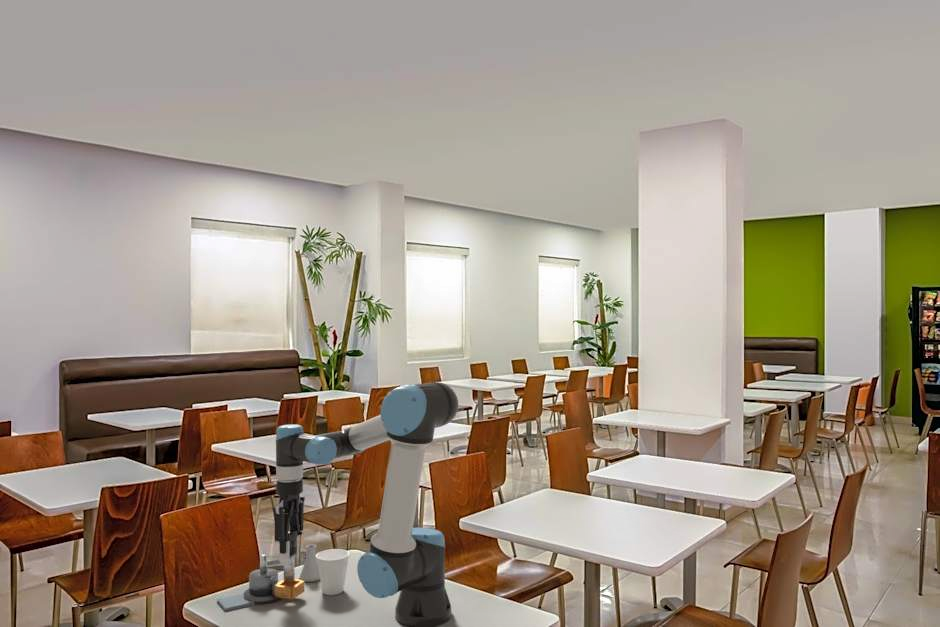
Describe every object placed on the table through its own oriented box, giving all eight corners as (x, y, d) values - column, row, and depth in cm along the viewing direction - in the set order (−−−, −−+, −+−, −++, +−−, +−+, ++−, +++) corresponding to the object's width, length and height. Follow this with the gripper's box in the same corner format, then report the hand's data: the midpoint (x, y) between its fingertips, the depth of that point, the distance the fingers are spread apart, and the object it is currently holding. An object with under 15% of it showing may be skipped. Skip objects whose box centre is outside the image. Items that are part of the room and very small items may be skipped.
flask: (294, 581, 216) (294, 548, 216) (307, 573, 223) (307, 541, 223) (315, 583, 214) (315, 550, 214) (327, 575, 221) (327, 543, 221)
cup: (353, 586, 212) (353, 549, 212) (344, 598, 202) (344, 560, 202) (321, 584, 213) (321, 548, 213) (311, 597, 203) (311, 559, 203)
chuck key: (296, 577, 204) (297, 528, 204) (296, 582, 200) (297, 533, 200) (281, 578, 203) (281, 530, 203) (280, 584, 199) (281, 534, 199)
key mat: (254, 604, 198) (254, 601, 198) (225, 611, 194) (225, 608, 194) (245, 595, 205) (245, 592, 205) (217, 601, 200) (217, 599, 200)
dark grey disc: (288, 598, 203) (288, 593, 203) (250, 607, 196) (250, 602, 196) (275, 586, 212) (275, 581, 212) (238, 595, 205) (238, 589, 205)
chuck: (243, 594, 201) (243, 558, 201) (259, 584, 209) (259, 549, 209) (292, 600, 197) (292, 563, 197) (306, 589, 205) (306, 554, 205)
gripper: (293, 472, 211) (293, 550, 211) (260, 485, 195) (260, 570, 194) (316, 473, 209) (315, 552, 209) (285, 487, 193) (284, 572, 192)
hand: (289, 560), depth 202 cm, fingers closed on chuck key, 4 cm apart
